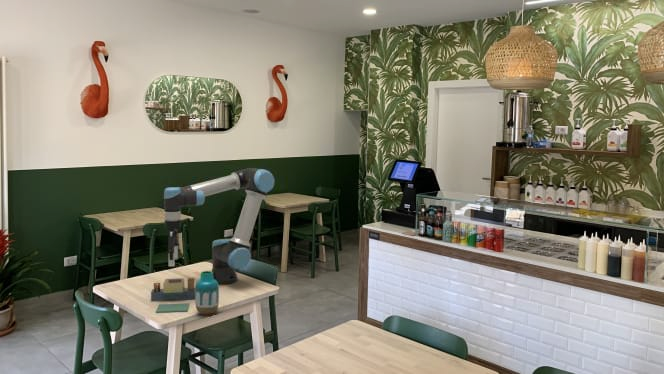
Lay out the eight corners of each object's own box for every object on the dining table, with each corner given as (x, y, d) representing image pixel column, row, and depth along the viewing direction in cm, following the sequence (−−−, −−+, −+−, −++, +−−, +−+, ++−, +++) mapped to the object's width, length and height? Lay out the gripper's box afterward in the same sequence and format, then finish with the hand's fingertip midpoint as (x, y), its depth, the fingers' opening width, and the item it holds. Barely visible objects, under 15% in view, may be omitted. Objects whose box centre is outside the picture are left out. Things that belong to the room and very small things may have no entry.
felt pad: (189, 304, 253) (189, 303, 253) (187, 311, 243) (187, 310, 243) (158, 305, 251) (158, 304, 250) (155, 313, 241) (155, 311, 241)
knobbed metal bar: (196, 296, 265) (196, 276, 264) (195, 299, 260) (195, 279, 259) (152, 298, 261) (152, 278, 260) (151, 301, 256) (150, 281, 255)
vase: (190, 313, 240) (189, 272, 238) (207, 307, 249) (207, 267, 247) (206, 319, 235) (206, 277, 232) (223, 312, 243) (223, 271, 241)
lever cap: (184, 287, 265) (184, 276, 264) (182, 292, 257) (182, 281, 256) (165, 287, 263) (165, 277, 263) (163, 293, 255) (163, 282, 254)
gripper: (168, 215, 267) (168, 256, 270) (160, 224, 243) (161, 269, 245) (183, 215, 269) (183, 256, 271) (177, 224, 244) (178, 269, 247)
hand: (173, 262), depth 258 cm, fingers open, 13 cm apart
